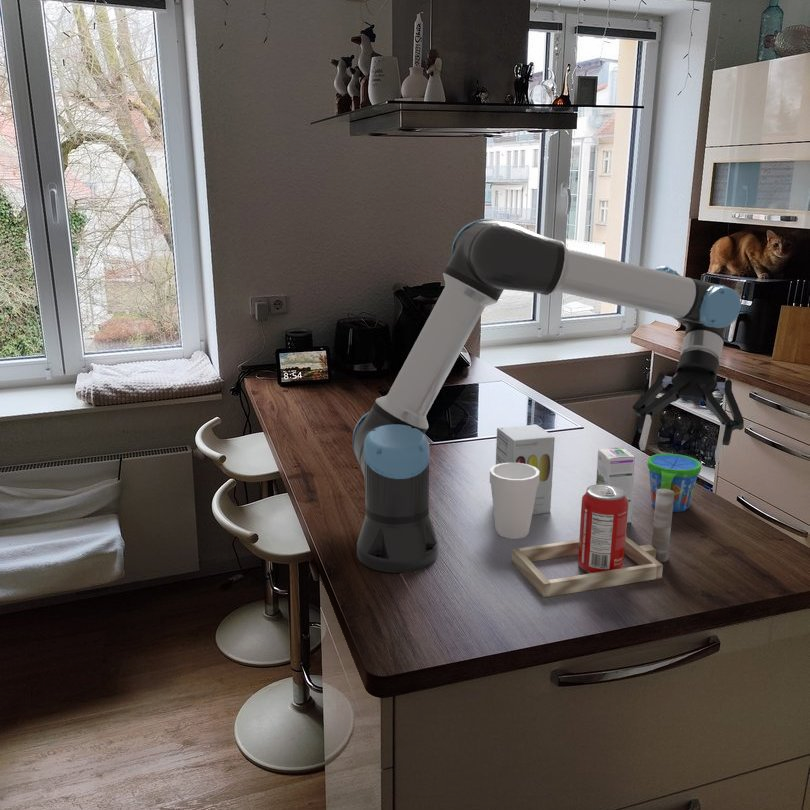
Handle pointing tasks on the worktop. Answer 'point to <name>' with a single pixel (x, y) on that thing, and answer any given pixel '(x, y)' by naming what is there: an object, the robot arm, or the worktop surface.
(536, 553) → the birch pull frame
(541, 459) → the supplement box
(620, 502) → the soda can
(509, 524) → the foam cup
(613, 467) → the syrup box
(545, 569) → the worktop surface
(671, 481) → the snack cup
